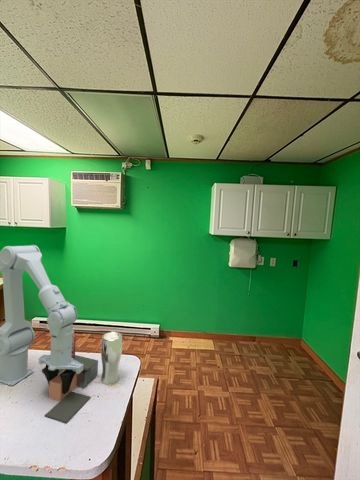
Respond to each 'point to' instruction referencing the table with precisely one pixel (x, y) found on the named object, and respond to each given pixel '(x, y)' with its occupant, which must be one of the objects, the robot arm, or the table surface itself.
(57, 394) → the salmon orange block
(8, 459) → the table surface
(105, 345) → the beer glass
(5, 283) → the robot arm
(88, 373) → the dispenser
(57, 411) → the mat
